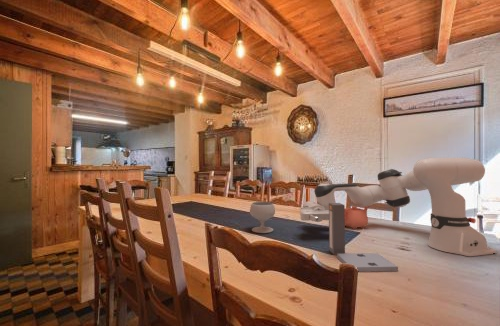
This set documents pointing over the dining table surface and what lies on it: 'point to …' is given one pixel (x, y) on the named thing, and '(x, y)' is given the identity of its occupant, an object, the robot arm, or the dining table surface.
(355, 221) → the teapot
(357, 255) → the mounting plate
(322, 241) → the dining table surface
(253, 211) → the chalice
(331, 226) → the tall taupe pillar
